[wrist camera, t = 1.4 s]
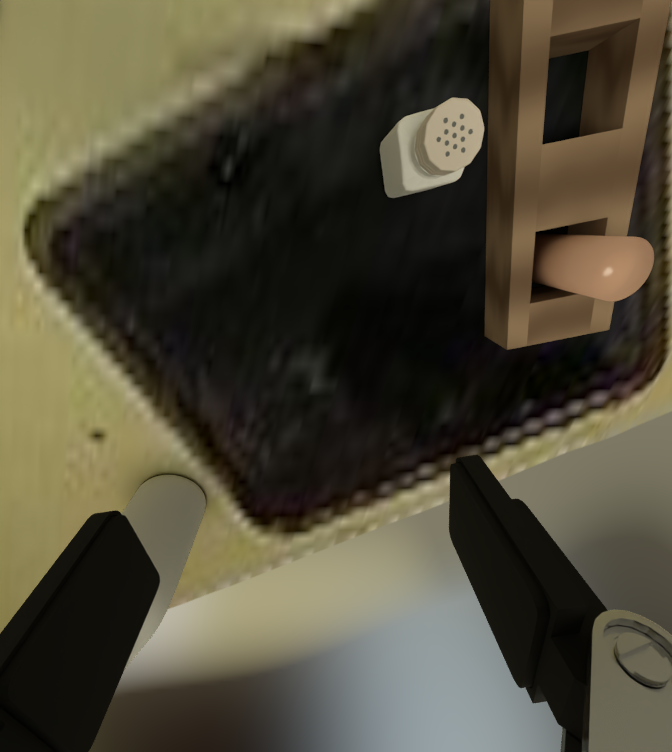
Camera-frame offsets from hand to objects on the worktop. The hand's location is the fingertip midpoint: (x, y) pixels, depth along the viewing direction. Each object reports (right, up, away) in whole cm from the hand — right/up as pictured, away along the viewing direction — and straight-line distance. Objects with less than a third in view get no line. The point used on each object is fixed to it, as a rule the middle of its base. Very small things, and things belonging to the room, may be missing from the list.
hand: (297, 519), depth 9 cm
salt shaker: (+7, +21, +16) cm, 27 cm away
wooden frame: (+18, +20, +17) cm, 32 cm away
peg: (+19, +15, +20) cm, 31 cm away
